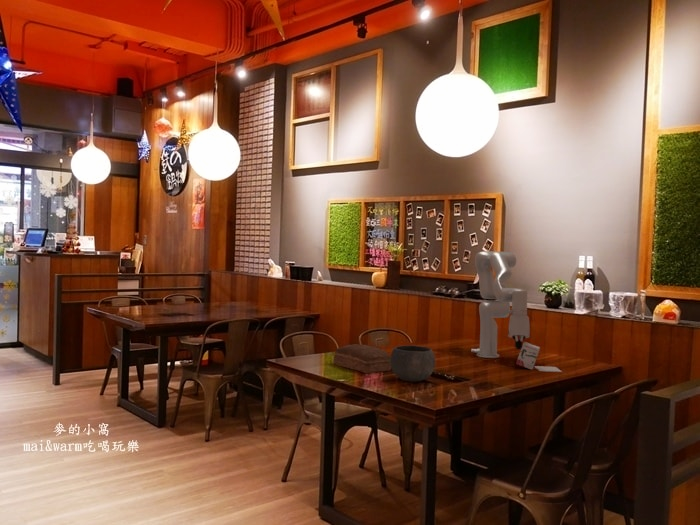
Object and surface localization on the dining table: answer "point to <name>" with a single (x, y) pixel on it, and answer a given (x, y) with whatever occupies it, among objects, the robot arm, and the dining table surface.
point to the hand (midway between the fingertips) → (518, 348)
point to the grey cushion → (362, 358)
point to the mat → (547, 369)
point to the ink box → (528, 355)
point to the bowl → (412, 362)
